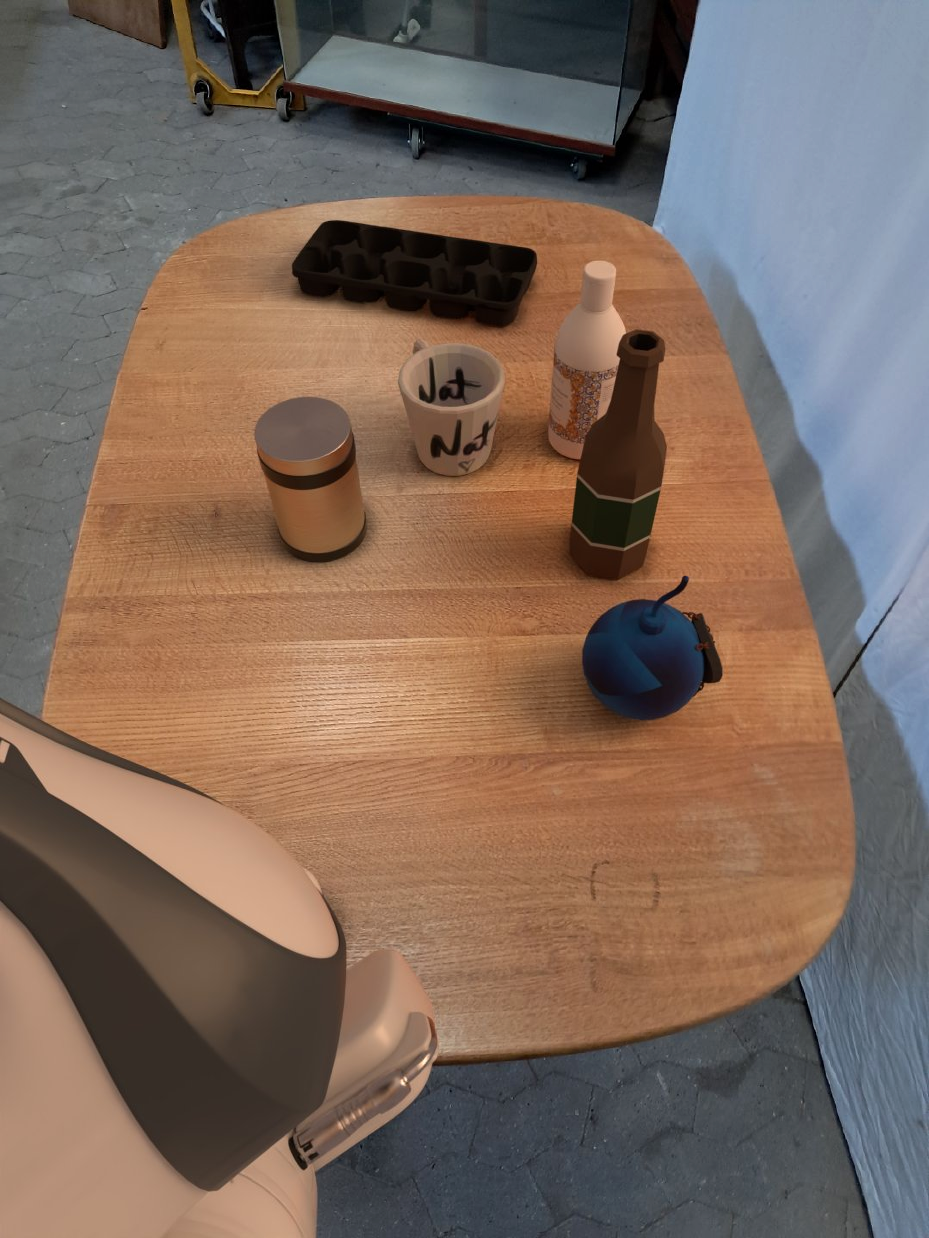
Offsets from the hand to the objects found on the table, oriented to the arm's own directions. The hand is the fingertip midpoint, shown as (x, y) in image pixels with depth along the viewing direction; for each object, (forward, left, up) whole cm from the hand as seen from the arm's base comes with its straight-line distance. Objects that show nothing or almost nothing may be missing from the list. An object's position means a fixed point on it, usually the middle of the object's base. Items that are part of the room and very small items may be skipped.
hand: (233, 1045), depth 45 cm
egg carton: (+41, +82, -18) cm, 93 cm away
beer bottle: (+42, +33, -18) cm, 56 cm away
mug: (+34, +54, -18) cm, 66 cm away
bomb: (+37, +18, -18) cm, 45 cm away
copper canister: (+18, +47, -18) cm, 54 cm away
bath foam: (+47, +48, -18) cm, 70 cm away
